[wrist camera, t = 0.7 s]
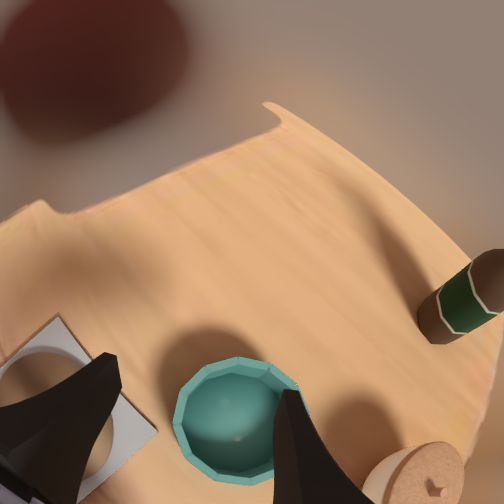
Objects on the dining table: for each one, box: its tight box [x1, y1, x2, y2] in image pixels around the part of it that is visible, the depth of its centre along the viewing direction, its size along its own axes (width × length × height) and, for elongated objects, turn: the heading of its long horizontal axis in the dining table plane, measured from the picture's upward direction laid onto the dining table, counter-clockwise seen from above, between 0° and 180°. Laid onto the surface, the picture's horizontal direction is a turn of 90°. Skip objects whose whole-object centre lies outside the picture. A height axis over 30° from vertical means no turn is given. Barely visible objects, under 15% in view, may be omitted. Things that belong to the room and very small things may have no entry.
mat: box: [0, 317, 158, 504], centre depth 20 cm, size 15×15×1 cm
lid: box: [0, 352, 114, 481], centre depth 18 cm, size 13×13×4 cm
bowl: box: [172, 356, 310, 486], centre depth 23 cm, size 11×11×4 cm
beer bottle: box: [417, 249, 504, 344], centre depth 27 cm, size 8×8×24 cm
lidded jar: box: [362, 442, 464, 504], centre depth 19 cm, size 11×11×9 cm
